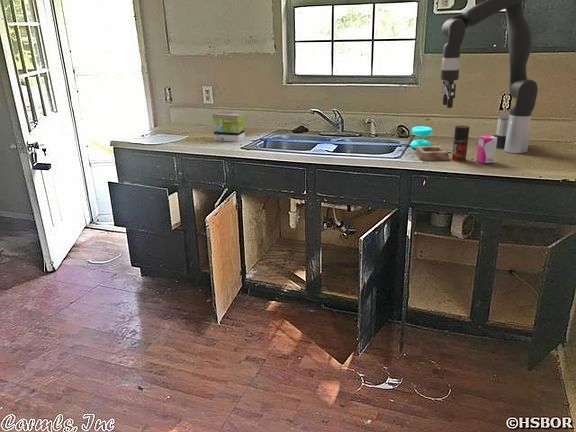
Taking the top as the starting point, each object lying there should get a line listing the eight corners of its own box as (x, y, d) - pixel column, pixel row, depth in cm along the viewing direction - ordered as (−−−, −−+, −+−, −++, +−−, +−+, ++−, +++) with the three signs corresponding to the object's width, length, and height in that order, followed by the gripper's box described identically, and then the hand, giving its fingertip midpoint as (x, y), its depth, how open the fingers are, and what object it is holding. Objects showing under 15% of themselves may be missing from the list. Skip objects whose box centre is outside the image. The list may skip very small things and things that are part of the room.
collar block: (440, 153, 226) (441, 146, 225) (447, 159, 215) (448, 152, 213) (415, 153, 227) (416, 146, 225) (420, 160, 215) (421, 152, 214)
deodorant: (449, 159, 215) (452, 126, 209) (456, 157, 218) (459, 124, 213) (461, 162, 211) (465, 128, 205) (468, 159, 214) (472, 126, 209)
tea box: (214, 141, 265) (211, 114, 260) (221, 137, 274) (219, 111, 269) (238, 142, 261) (237, 115, 255) (245, 138, 270) (244, 112, 264)
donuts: (426, 125, 239) (436, 129, 231) (424, 144, 243) (435, 149, 234) (408, 126, 237) (418, 130, 228) (406, 146, 241) (417, 150, 232)
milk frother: (511, 150, 228) (515, 119, 223) (477, 146, 237) (481, 116, 232) (518, 144, 239) (523, 114, 233) (486, 140, 248) (489, 112, 242)
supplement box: (488, 160, 212) (491, 135, 208) (494, 163, 207) (497, 138, 202) (475, 160, 212) (478, 135, 208) (481, 164, 206) (484, 138, 202)
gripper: (463, 69, 199) (460, 108, 205) (455, 66, 212) (452, 103, 218) (445, 70, 200) (442, 109, 206) (437, 67, 213) (435, 104, 219)
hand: (447, 106), depth 212 cm, fingers open, 8 cm apart
